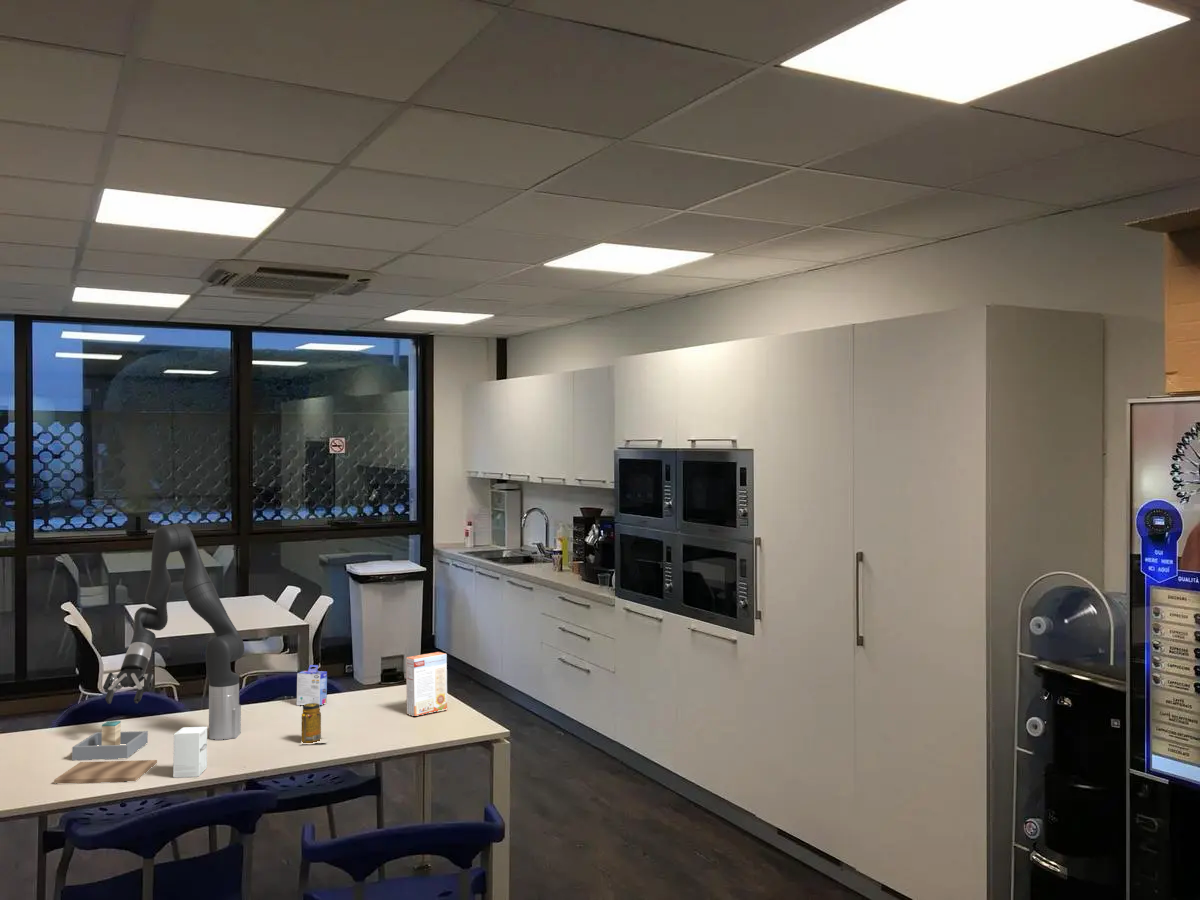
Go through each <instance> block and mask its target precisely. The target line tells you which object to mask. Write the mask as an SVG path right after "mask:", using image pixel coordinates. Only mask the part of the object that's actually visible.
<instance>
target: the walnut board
mask: <svg viewBox="0 0 1200 900" xmlns="http://www.w3.org/2000/svg"><path fill="white" fill-rule="evenodd" d="M156 763H157V764H158V760H157V759H145V760H144V759H143V760H137V759H136V760H112V761H110V760H109V761H106V760H104V761H80V762H78V763H77V764H75V765H74V766H73V767H70V768H69V769H68V770H66V771H65V772H64V773H62V774H60V775H58V776H57V777H56V778H55V779H54V780H53V784H54V783H77V784H100V783H101V782H110V783H125V782H124V781H136V780H137V779H138V778H139V779H141V778H142V777H143V776H144V775H145V774H147V773H148V772H149V771H150V770H151V769H150V768H151V767H153V766H154V765H155V764H156ZM157 764H156V765H157ZM156 765H155V766H156ZM155 766H154V767H155ZM154 767H153V768H154ZM149 769H150V770H149ZM148 770H149V771H148ZM147 771H148V772H147ZM146 772H147V773H146ZM144 773H145V774H144ZM143 774H144V775H143ZM142 775H143V776H142ZM141 776H142V777H141ZM140 777H141V778H140ZM139 779H138V780H139ZM138 780H137V781H138ZM137 781H136V782H137ZM101 784H102V783H101Z"/></svg>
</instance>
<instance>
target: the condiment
mask: <svg viewBox="0 0 1200 900" xmlns="http://www.w3.org/2000/svg"><path fill="white" fill-rule="evenodd" d="M321 738H322V713H321V706H320V705H319V704H317V703H309V704H305V705H304V706H302V713H301V738H300V739H301V740H302V742H303V743H313V742H317V741H320V739H321Z"/></svg>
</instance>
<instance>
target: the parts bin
mask: <svg viewBox="0 0 1200 900" xmlns="http://www.w3.org/2000/svg"><path fill="white" fill-rule="evenodd" d="M148 732H149V731H148V730H139V731H137V730H134V731H121V735H120V744H126V745H102V731H101V732H100V731H99V732H98V731H96V732H94V733H93V734H91V735H89V736H88V737H86V738H84V739H83V740H81V741H80V742H78V743H77V744H75V745H74V746H72V748H71V750H72V752H71V754H72V755H71V757H72V758H71V761H92V759H105V760H119V759H118V758H128V757H129V756H130V755H132V754H133V753H134V752H136V751H137V750H138V749H140V748H141V747H142V746H144V745H145V744H146V743H148V741H149V740H148V736H149V735H148V734H149V733H148ZM97 745H99V746H97ZM146 745H147V744H146ZM146 745H145V746H146ZM145 746H144V747H145ZM142 748H143V747H142ZM142 748H141V749H142ZM141 749H140V750H141ZM138 751H139V750H138ZM138 751H137V752H138ZM137 752H136V753H137ZM134 754H135V753H134ZM134 754H133V755H134ZM133 755H132V756H133ZM130 757H131V756H130ZM130 757H129V758H130ZM129 758H128V759H129Z"/></svg>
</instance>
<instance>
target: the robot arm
mask: <svg viewBox="0 0 1200 900" xmlns="http://www.w3.org/2000/svg"><path fill="white" fill-rule="evenodd" d="M192 532H193V531H192V530H191V529H190V527H189V526H188V525H186V524H185V523H176V524H175V523H174V524H170V525H162V526H161V527H158V528H157V529H156V530H155V532H154V534H153V538H152V547H151V548H152V551H151V563H150V564H151V565H150V577H149V582H148V585H147V588H146V593H145V597H144V602H145V603H146V605H148V606H150V607H146V606H143V607H139V608H138V609H137V610H136V612H135V613H134V617H133V618H134V619H133V623H134V624H133V627H134V630H133V636H132V639H131V641H130V644H129V647H128V649H127V650H126V653H125V656H124V659H123V661H122V664H121V667H120V671H119V672H118V674H115V673H112V672H109V673H108V674H107V677H106V680H105V681H104V684H103V686H102V689H103V691H104V693H106V696H105V702H106V703H107V705H108V704H109V705H110V704H112V702H113V698H114V695H115V693H116V692H117V691H120V690H121V689H122V688H134V687H136V688H137V690H136V693H135V696H134V698H133V702H134V704H138V703H139V702H141V700H142V697H143V694H145V693H146V692H150V691H151V690H152V686H153V682H154V674H153V673H152V672H151V671H150V672H148V673H146V672H147V671H146V670H147V669H148V665H149V662H150V660H151V657H152V651H153V648H154V644H155V642H156V637H157V636H156V634H155V633H154V632H153V631H161V630H163V629H164V628H166V626H167V624H168V619H169V617H168V607H167V606H168V599H169V595H170V591H171V588H172V587H171V586H172V579H171V576H170V573H169V570H168V567H167V560H168V558H169V555H170V553H176V552H179V553H180V556H181V558H182V561H183V564H184V574H183V580H182V591H183V593H184V595H185V596H184V597H185V598H186V600H187V602H188V605H189V606H190V608H191V609H192V610H193V611H194V612H195V613H196V614H197V615H198V616H199V617H200V618H202V619H203V620H204V621H205V622H206V624H207V623H208V625H209V626H210V627H211V628H212V630H213V632H214V634H215V637H213V638H211V639H209V641H208V643H207V644H206V648H205V668H206V669H205V670H206V676H207V679H208V739H210V740H213V739H215V740H216V741H220V740H221V741H222V740H223V739H224V740H228V739H229V740H230V739H237V737H238V736H239V735H240V734H241V731H242V729H241V728H242V717H241V715H242V711H241V710H242V706H241V704H240V675H239V674H238V673H236V672H233V671H232V669H231V663H232V662H234V661H235V662H236V661H238V660H240V659H241V658H242V657H243V656H244V653H245V644H244V643H245V642H244V641H243V638H242V636H241V635H240V633H239V631H238V630H237V628H236V627H235V625H234V623H233V622H232V620H231V618H230V616H229V615H228V613H227V611H226V608H225V607H224V604H223V603H222V601H221V599H220V597H219V594H218V591H217V589H216V587H215V585H214V583H213V581H212V579H211V578H210V575H209V574H208V573H209V572H208V571H207V568H206V566H205V564H204V563H203V560H202V557H201V554H200V552H199V548H198V546H197V543H196V540H195V537H194V534H193V533H192ZM151 630H153V631H151ZM144 680H145V683H144V686H143V685H141V682H142V681H144Z"/></svg>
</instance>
